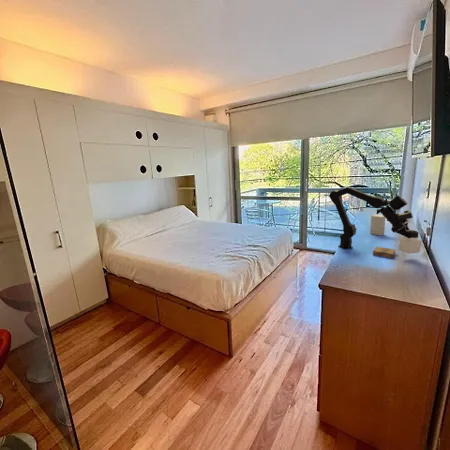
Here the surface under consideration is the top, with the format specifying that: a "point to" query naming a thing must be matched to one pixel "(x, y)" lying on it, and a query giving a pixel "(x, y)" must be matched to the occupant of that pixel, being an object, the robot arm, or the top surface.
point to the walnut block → (384, 252)
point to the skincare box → (377, 225)
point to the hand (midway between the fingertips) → (410, 236)
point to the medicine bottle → (410, 243)
